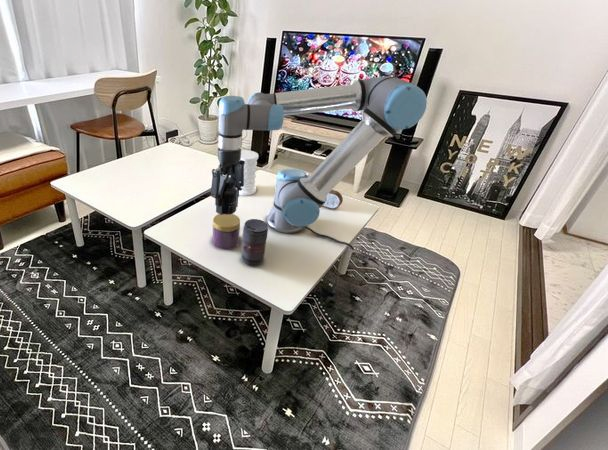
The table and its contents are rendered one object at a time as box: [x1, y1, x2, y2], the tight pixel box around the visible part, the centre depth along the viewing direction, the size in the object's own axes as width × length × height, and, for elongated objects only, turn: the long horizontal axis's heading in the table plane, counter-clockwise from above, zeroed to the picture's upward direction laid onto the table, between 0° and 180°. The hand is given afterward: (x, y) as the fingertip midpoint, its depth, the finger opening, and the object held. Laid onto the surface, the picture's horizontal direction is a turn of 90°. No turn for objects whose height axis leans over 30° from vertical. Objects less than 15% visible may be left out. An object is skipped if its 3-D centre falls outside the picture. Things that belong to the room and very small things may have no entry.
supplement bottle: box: [222, 176, 238, 215], centre depth 118 cm, size 7×7×12 cm
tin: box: [321, 189, 344, 210], centre depth 150 cm, size 15×3×8 cm, turn 58°
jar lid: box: [212, 213, 241, 232], centre depth 125 cm, size 10×10×2 cm
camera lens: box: [241, 218, 269, 267], centre depth 116 cm, size 8×8×15 cm
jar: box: [212, 225, 241, 250], centre depth 127 cm, size 10×10×9 cm
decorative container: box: [239, 149, 260, 196], centre depth 160 cm, size 12×12×18 cm
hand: (226, 209), depth 122 cm, fingers closed on supplement bottle, 7 cm apart
